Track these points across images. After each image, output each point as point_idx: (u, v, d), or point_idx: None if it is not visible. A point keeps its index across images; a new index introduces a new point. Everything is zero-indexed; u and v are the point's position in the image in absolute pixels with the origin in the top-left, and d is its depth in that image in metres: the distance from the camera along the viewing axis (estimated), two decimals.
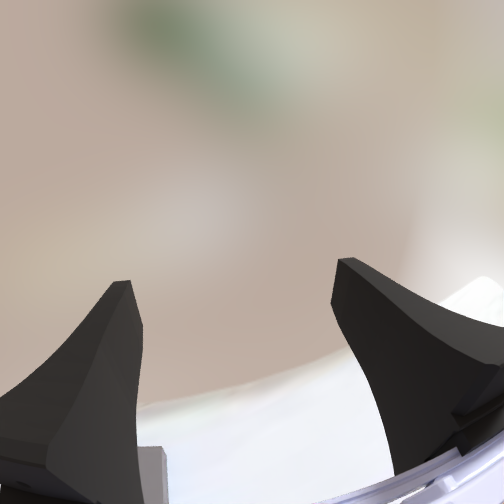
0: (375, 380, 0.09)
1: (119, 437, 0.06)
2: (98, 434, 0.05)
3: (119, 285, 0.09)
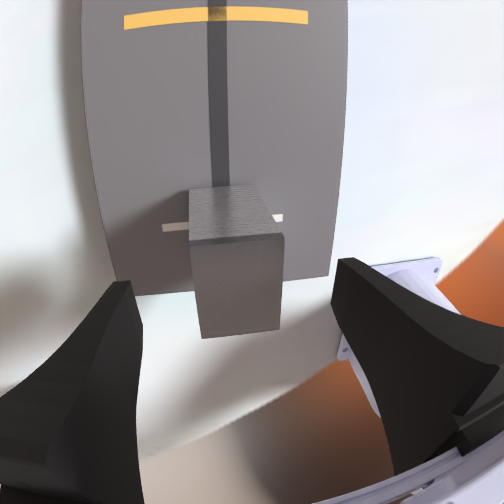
0: (375, 380, 0.09)
1: (119, 437, 0.06)
2: (98, 434, 0.05)
3: (119, 285, 0.09)
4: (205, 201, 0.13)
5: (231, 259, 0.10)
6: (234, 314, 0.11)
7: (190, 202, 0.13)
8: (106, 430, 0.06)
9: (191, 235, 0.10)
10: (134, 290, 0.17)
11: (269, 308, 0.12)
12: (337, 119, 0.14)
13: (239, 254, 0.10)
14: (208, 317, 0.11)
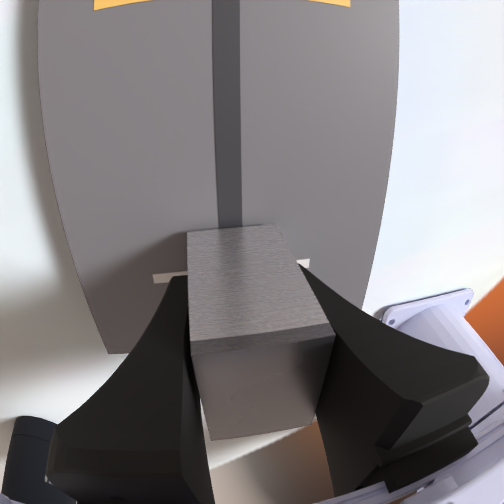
0: None
1: (199, 434, 0.07)
2: (193, 432, 0.05)
3: (182, 279, 0.10)
4: (210, 255, 0.09)
5: (255, 366, 0.07)
6: (255, 418, 0.08)
7: (189, 258, 0.09)
8: (195, 428, 0.06)
9: (193, 329, 0.07)
10: (123, 347, 0.13)
11: (301, 408, 0.08)
12: (384, 136, 0.10)
13: (267, 360, 0.06)
14: (220, 423, 0.08)
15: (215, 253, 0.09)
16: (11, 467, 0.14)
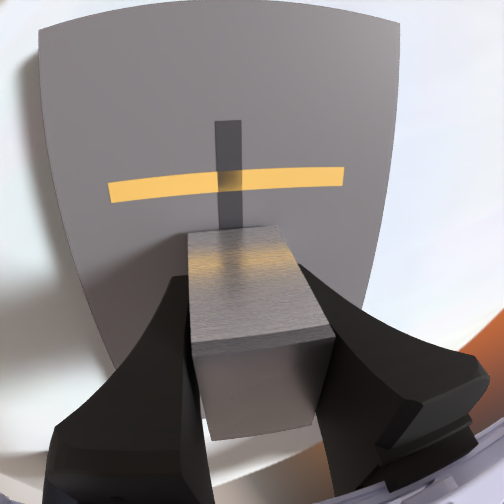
0: None
1: (199, 434, 0.07)
2: (193, 432, 0.05)
3: (182, 279, 0.10)
4: (211, 257, 0.09)
5: (255, 367, 0.07)
6: (255, 419, 0.08)
7: (190, 259, 0.09)
8: (195, 428, 0.06)
9: (194, 331, 0.07)
10: None
11: (302, 409, 0.08)
12: (360, 284, 0.14)
13: (268, 361, 0.07)
14: (220, 423, 0.08)
15: (216, 254, 0.09)
16: (50, 494, 0.17)
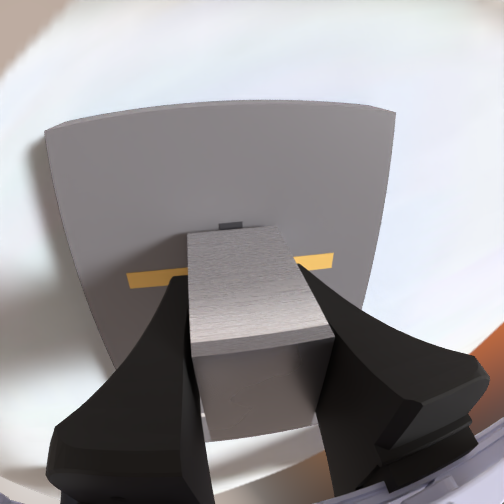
0: None
1: (199, 434, 0.07)
2: (193, 432, 0.05)
3: (182, 279, 0.10)
4: (210, 257, 0.09)
5: (255, 367, 0.07)
6: (255, 419, 0.08)
7: (189, 260, 0.09)
8: (195, 428, 0.06)
9: (193, 331, 0.07)
10: None
11: (301, 409, 0.08)
12: None
13: (267, 361, 0.07)
14: (219, 423, 0.08)
15: (215, 255, 0.09)
16: None
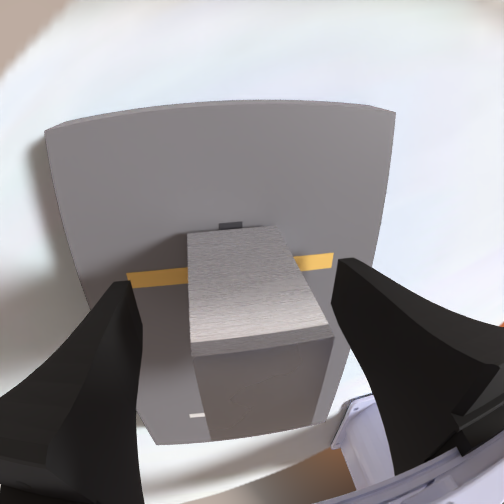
0: (375, 380, 0.09)
1: (119, 437, 0.06)
2: (98, 434, 0.05)
3: (119, 284, 0.09)
4: (210, 257, 0.09)
5: (255, 367, 0.07)
6: (255, 419, 0.08)
7: (189, 259, 0.09)
8: (106, 430, 0.06)
9: (193, 331, 0.07)
10: (166, 442, 0.18)
11: (301, 409, 0.08)
12: None
13: (267, 361, 0.07)
14: (219, 423, 0.08)
15: (215, 255, 0.09)
16: None
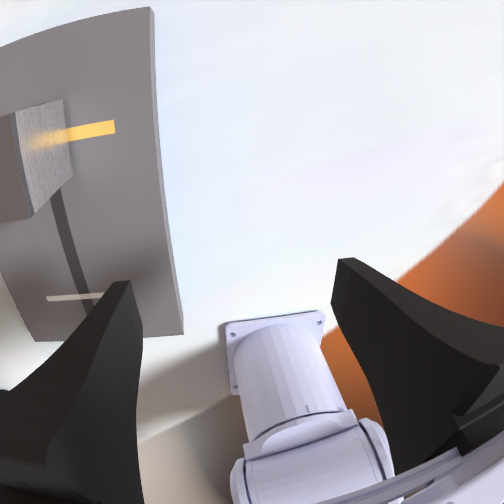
0: (375, 380, 0.09)
1: (119, 437, 0.06)
2: (98, 434, 0.05)
3: (119, 285, 0.09)
4: None
5: None
6: None
7: None
8: (106, 430, 0.06)
9: None
10: (41, 337, 0.19)
11: (14, 191, 0.09)
12: (155, 213, 0.17)
13: None
14: None
15: None
16: None
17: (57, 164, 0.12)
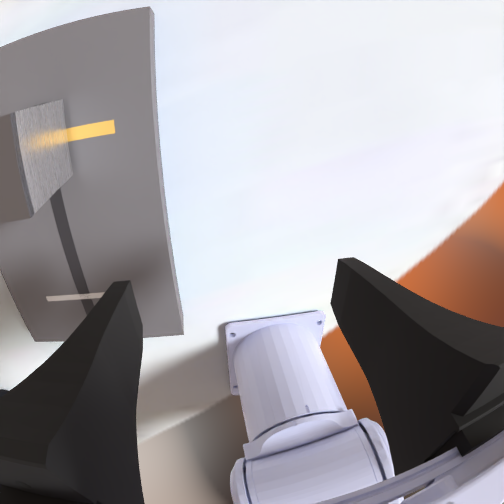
0: (375, 380, 0.09)
1: (119, 437, 0.06)
2: (98, 434, 0.05)
3: (119, 285, 0.09)
4: None
5: None
6: None
7: None
8: (106, 430, 0.06)
9: None
10: (41, 337, 0.19)
11: (14, 191, 0.09)
12: (155, 213, 0.17)
13: None
14: None
15: None
16: None
17: (57, 164, 0.12)
